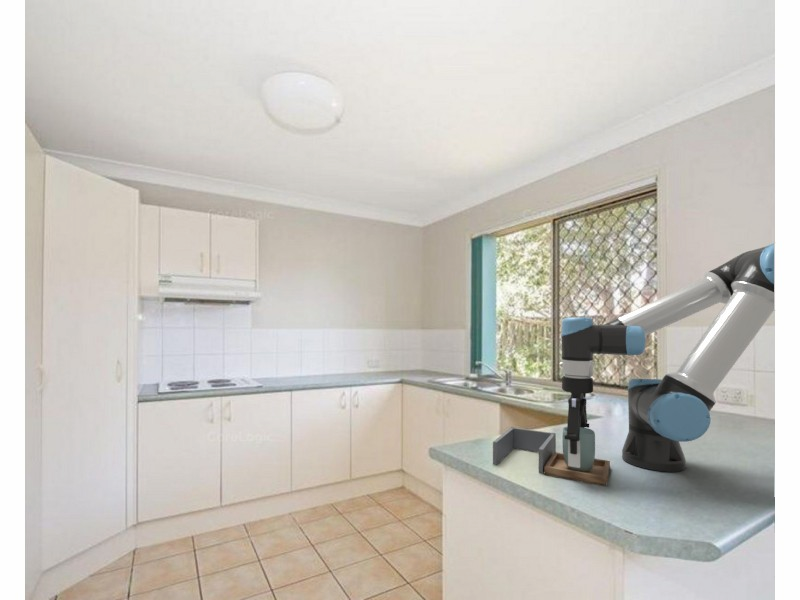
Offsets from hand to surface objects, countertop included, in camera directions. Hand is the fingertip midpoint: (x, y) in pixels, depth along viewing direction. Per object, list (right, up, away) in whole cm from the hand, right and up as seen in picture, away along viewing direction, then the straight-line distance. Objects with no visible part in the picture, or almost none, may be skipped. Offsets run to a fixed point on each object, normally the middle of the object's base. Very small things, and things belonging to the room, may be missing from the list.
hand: (577, 459), depth 108 cm
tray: (0, -3, 0) cm, 3 cm away
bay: (-11, -4, +9) cm, 14 cm away
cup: (0, -3, 0) cm, 3 cm away
